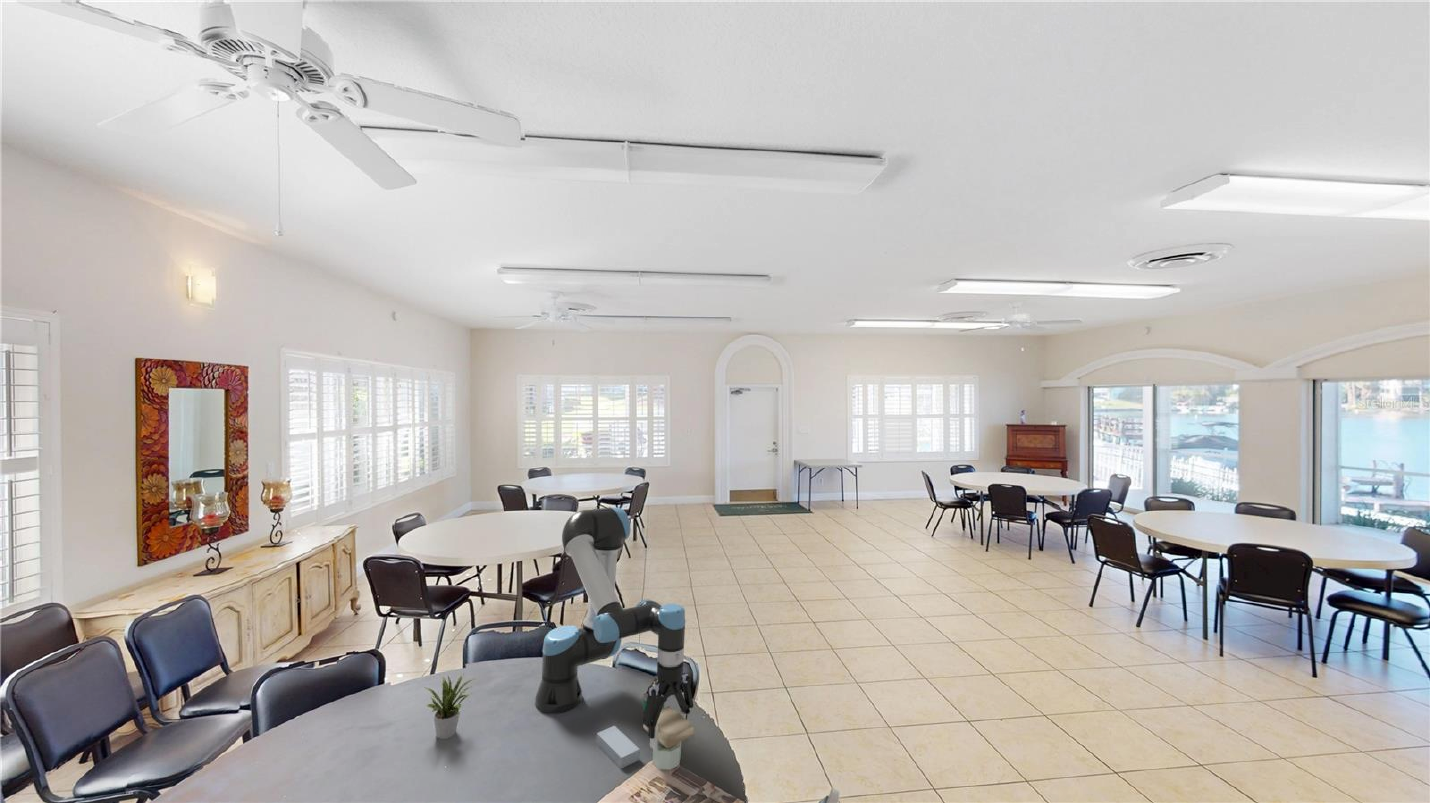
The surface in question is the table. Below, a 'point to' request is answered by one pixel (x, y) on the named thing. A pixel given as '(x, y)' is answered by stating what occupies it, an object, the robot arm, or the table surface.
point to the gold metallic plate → (672, 727)
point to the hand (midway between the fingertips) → (667, 741)
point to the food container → (647, 694)
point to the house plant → (447, 708)
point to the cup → (667, 756)
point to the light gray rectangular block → (618, 747)
